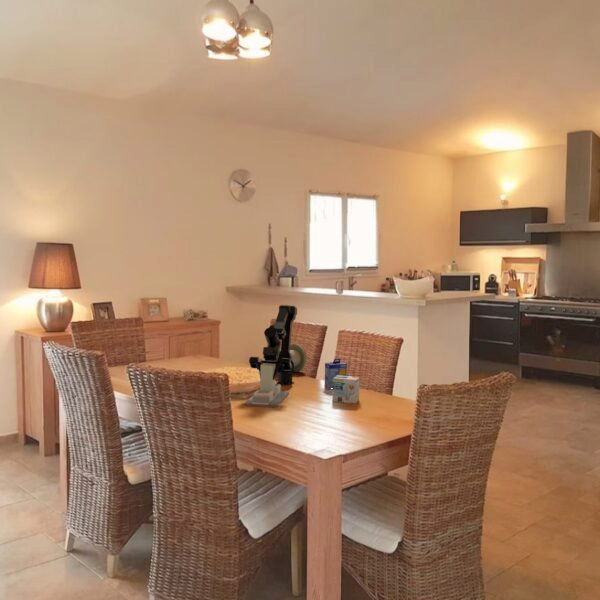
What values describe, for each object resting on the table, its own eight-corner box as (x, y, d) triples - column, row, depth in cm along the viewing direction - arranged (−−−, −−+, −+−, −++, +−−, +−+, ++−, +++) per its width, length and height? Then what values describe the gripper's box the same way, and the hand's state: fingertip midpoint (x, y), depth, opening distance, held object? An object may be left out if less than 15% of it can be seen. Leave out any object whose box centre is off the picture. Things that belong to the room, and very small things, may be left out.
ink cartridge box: (328, 389, 302) (329, 359, 301) (323, 387, 307) (324, 358, 306) (347, 388, 306) (347, 358, 305) (341, 385, 311) (342, 356, 310)
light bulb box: (331, 401, 279) (332, 377, 278) (336, 398, 285) (337, 374, 284) (355, 404, 275) (355, 379, 274) (359, 400, 281) (360, 376, 280)
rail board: (259, 392, 295) (259, 381, 295) (289, 393, 293) (289, 382, 292) (244, 405, 270) (244, 393, 269) (276, 407, 267) (276, 395, 267)
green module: (262, 391, 284) (263, 362, 283) (274, 392, 283) (275, 363, 282) (259, 393, 279) (260, 365, 278) (271, 395, 278) (272, 365, 277)
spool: (283, 377, 331) (284, 348, 329) (265, 372, 341) (265, 345, 340) (306, 373, 342) (306, 345, 341) (287, 369, 353) (287, 342, 352)
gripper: (250, 338, 285) (243, 367, 275) (290, 340, 281) (284, 369, 271) (254, 353, 293) (247, 381, 283) (293, 355, 289) (288, 383, 280)
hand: (266, 379), depth 279 cm, fingers closed on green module, 5 cm apart
